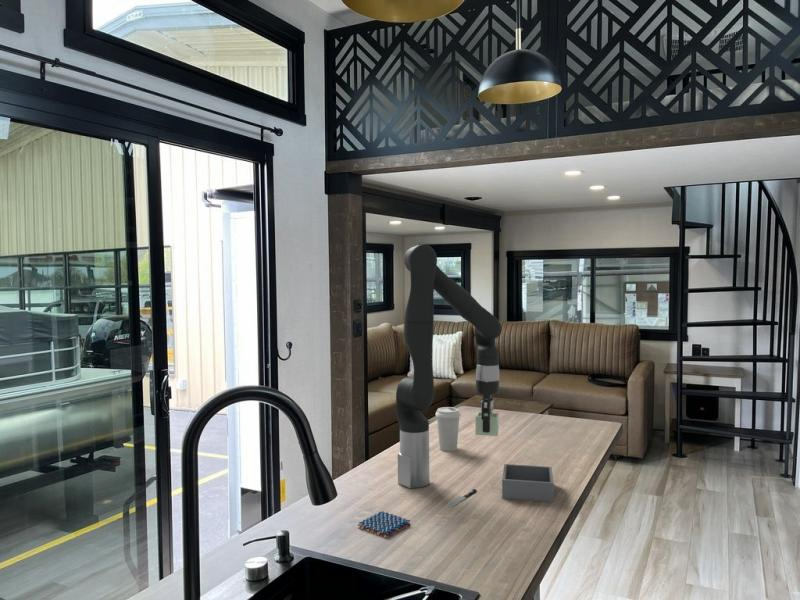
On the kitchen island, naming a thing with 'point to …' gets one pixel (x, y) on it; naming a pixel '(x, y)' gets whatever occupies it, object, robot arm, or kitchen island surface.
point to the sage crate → (493, 424)
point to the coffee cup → (448, 427)
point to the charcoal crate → (527, 482)
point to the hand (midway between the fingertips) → (487, 429)
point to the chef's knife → (459, 499)
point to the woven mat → (384, 524)
